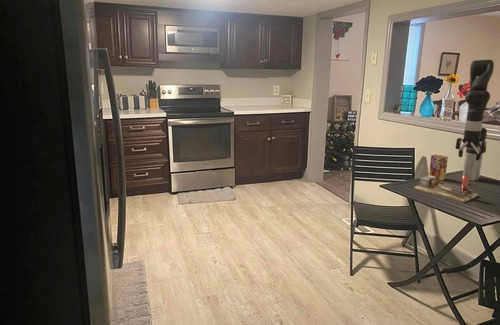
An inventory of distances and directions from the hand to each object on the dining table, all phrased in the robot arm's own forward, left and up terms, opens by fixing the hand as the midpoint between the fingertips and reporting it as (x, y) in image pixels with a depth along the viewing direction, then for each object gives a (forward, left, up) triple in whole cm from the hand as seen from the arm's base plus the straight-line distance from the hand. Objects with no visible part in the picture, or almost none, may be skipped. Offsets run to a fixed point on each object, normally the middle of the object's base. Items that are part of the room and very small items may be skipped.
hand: (468, 158), depth 190 cm
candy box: (-21, -27, -23) cm, 41 cm away
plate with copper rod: (0, -2, -21) cm, 21 cm away
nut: (0, -17, -21) cm, 27 cm away
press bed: (0, -10, -22) cm, 24 cm away
